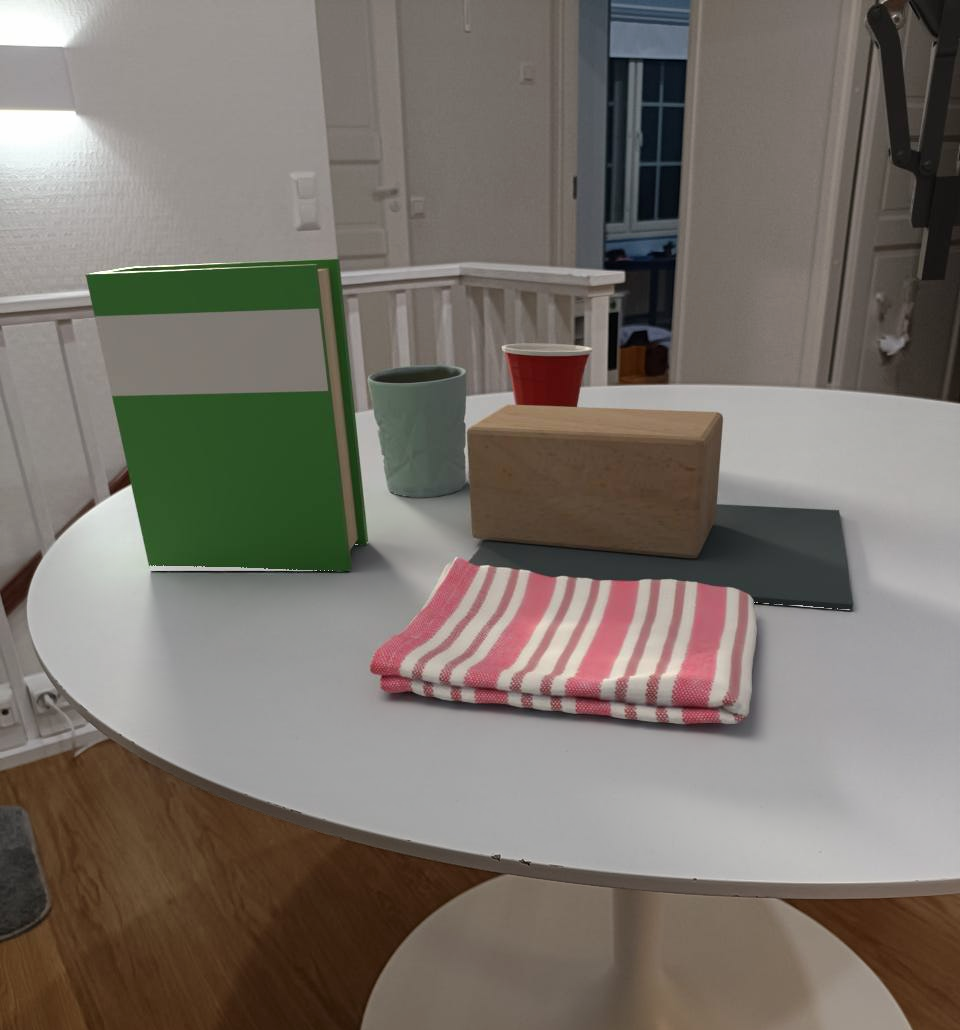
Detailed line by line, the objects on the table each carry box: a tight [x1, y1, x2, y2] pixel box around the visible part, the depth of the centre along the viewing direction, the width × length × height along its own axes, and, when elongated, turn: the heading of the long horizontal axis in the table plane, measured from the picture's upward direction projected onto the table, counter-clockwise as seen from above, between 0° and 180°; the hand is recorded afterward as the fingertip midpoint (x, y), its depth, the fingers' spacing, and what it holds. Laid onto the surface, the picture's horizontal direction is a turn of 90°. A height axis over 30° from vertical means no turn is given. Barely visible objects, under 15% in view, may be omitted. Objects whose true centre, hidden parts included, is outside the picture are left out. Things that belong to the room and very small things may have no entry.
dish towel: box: [369, 556, 758, 725], centre depth 60 cm, size 17×23×4 cm
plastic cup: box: [501, 343, 594, 407], centre depth 111 cm, size 11×11×12 cm
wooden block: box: [466, 404, 724, 559], centre depth 79 cm, size 10×10×20 cm
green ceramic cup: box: [367, 364, 468, 498], centre depth 96 cm, size 10×10×12 cm
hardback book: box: [85, 257, 369, 572], centre depth 76 cm, size 18×7×24 cm, turn 84°
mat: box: [467, 503, 854, 611], centre depth 79 cm, size 30×22×1 cm
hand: (930, 277), depth 65 cm, fingers closed
